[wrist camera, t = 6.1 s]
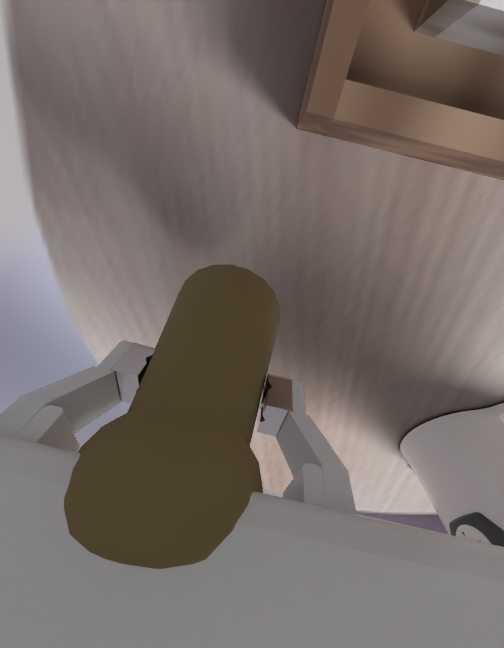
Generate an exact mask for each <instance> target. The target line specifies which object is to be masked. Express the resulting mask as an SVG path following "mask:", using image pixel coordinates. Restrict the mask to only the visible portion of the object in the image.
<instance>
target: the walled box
mask: <svg viewBox="0 0 504 648" xmlns="http://www.w3.org/2000/svg"><path fill="white" fill-rule="evenodd" d="M296 128H297V129H301V130H305V131H309V132H313V133H317V134H321V135H325V136H329V137H333V138H337V139H341V140H345V141H349V142H353V143H357V144H361V145H365V146H369V147H373V148H377V149H381V150H385V151H389V152H393V153H397V154H401V155H405V156H409V157H413V158H417V159H421V160H425V161H429V162H433V163H437V164H441V165H445V166H449V167H453V168H457V169H461V170H466V171H470V172H474V173H478V174H482V175H486V176H490V177H494V178H498V179H502V180H504V0H327V1H326V5H325V9H324V13H323V17H322V22H321V26H320V30H319V34H318V38H317V43H316V47H315V51H314V55H313V60H312V64H311V68H310V72H309V76H308V81H307V85H306V89H305V93H304V97H303V102H302V106H301V110H300V114H299V118H298V123H297V127H296Z"/></svg>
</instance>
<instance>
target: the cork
mask: <svg viewBox="0 0 504 648" xmlns="http://www.w3.org/2000/svg"><path fill="white" fill-rule="evenodd" d="M279 312H280V307H279V304H278V301H277V298H276V296H275V293H274V291H273V290H272V289H271V288H270V287H269V285H268V284H267V283H266V282H265V281H264V279H262V278H261V277H259V276H257V275H256V274H254V273H253V272H251V271H250V270H248V269H244V268H241V267H237V266H234V265H211V266H209V267H206V268H203V269H200V270H198V271H196V272H195V273H194V274H193V275H191V276H190V277H189V278H188V279H187V280H186V281H185V282H184V284H183V286H182V288H181V290H180V292H179V294H178V297H177V299H176V301H175V304H174V306H173V308H172V311H171V313H170V315H169V318H168V320H167V322H166V325H165V327H164V329H163V332H162V334H161V336H160V338H159V341H158V343H157V345H156V349H155V351H154V353H153V356H152V358H151V360H150V362H149V364H148V366H147V369H146V371H145V373H144V376H143V378H142V380H141V383H140V385H139V387H138V390H137V392H136V394H135V397H134V399H133V401H132V404H131V406H130V408H129V410H128V413H127V414H125V415H123V416H121V417H119V418H117V419H115V420H113V421H111V422H110V423H108V424H106V425H104V426H103V427H102V428H100V429H99V430H98V431H97V432H96V433H95V435H93V436H92V437H91V438H90V439H89V440H88V441H87V442H86V443H85V444H84V445H83V446H82V447H81V448H80V450H79V451H78V452H80V457H79V459H78V461H77V463H76V464H75V466H74V468H73V471H72V475H71V478H70V482H69V486H68V489H67V492H66V494H65V497H64V512H65V516H66V520H67V524H68V529H69V533H70V535H71V536H72V537H73V538H74V539H75V540H77V541H78V542H79V543H80V544H81V545H82V546H83V547H84V548H86V549H87V550H88V551H89V552H91V553H93V554H95V555H97V556H99V557H102V558H104V559H107V560H111V561H114V562H118V563H121V564H127V565H133V566H140V567H147V568H153V569H165V568H171V567H178V566H184V565H190V564H195V563H197V562H200V561H203V560H205V559H207V558H208V557H209V555H210V554H211V553H212V552H213V551H214V550H215V549H216V548H217V547H218V546H219V545H220V544H221V543H222V542H223V540H224V539H225V538H226V537H227V536H228V535H229V534H230V533H231V532H232V531H233V529H234V527H235V524H236V523H237V521H238V520H239V518H240V517H241V515H242V514H243V512H244V511H245V509H246V508H247V506H248V504H249V501H250V497H251V494H252V493H253V492H260V493H263V487H262V481H261V475H260V468H259V462H258V461H257V459H256V457H255V455H254V453H253V451H252V450H251V448H250V442H251V438H252V434H253V429H254V425H255V421H256V417H257V413H258V408H259V404H260V400H261V396H262V392H263V387H264V383H265V379H266V375H267V371H268V366H269V362H270V358H271V354H272V350H273V345H274V341H275V337H276V333H277V329H278V324H279Z"/></svg>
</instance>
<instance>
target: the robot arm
mask: <svg viewBox="0 0 504 648" xmlns="http://www.w3.org/2000/svg"><path fill="white" fill-rule="evenodd" d="M155 349H156V348H153V347H149V346H145V345H141V344H137V343H132V342H129V341H125V340H124V341H121V342H120V343H119V344H118V345H117V346H116V347H115V348H114V349H113V350H112V351H111V352H110V354H109V355H108V356H107V357H106V358H105V359H104V360H103V361H102V362H101V363H100V364H99V365H98V366H97V367H94V366H93V367H91V368H88V369H86V370H83V371H81V372H78V373H76V374H74V375H71V376H69V377H67V378H64V379H62V380H59V381H57V382H55V383H52V384H50V385H47V386H45V387H42V388H40V389H38V390H35V391H33V392H30V393H28V394H25V395H23V396H21V397H19V398H18V399H17V400H16V401H15V402H14V403H12V404H11V405H10V406H9V407H8V408H7V409H6V410H5V411H3V412H2V413H1V414H0V648H504V403H502V404H499V405H495V406H492V407H489V408H485V409H479V410H471V411H464V412H458V413H453V414H449V415H445V416H442V417H439V418H436V419H433V420H430V421H428V422H426V423H424V424H422V425H420V426H418V427H416V428H415V429H413V430H412V431H411V432H409V433H408V434H407V435H406V436H405V437H404V439H403V440H402V442H401V445H400V451H401V453H402V455H403V456H404V458H405V459H406V461H407V462H408V463H409V465H410V466H411V468H412V471H413V473H414V475H415V477H416V478H418V479H419V481H420V483H421V484H422V486H423V488H424V490H425V492H426V493H427V495H428V497H429V499H430V501H431V503H432V504H433V506H434V508H435V510H436V512H437V514H438V515H439V517H440V519H441V521H442V523H443V525H444V526H445V528H446V530H447V532H448V534H449V535H448V534H443V533H439V532H434V531H430V530H425V529H421V528H416V527H412V526H407V525H403V524H399V523H394V522H390V521H385V520H381V519H376V518H372V517H367V516H363V515H358V514H356V509H355V504H354V499H353V494H352V489H351V484H350V479H349V474H348V471H347V469H346V468H345V466H344V465H343V463H342V462H341V460H340V459H339V458H338V456H337V455H336V453H335V452H334V450H333V449H332V447H331V446H330V445H329V443H328V442H327V440H326V439H325V437H324V436H323V434H322V433H321V432H320V430H319V429H318V427H317V426H316V424H315V423H314V421H313V420H312V419H311V417H310V416H308V415H306V407H305V395H304V384H303V382H302V381H297V380H293V379H288V378H284V377H279V376H275V375H270V374H268V376H267V378H266V384H265V386H264V387H263V392H262V396H261V400H260V405H259V408H260V413H259V416H258V423H257V432H261V433H265V434H268V435H272V436H276V439H277V441H278V443H279V445H280V448H281V450H282V452H283V454H284V457H285V459H286V461H287V463H288V466H289V468H290V470H291V472H292V475H293V477H294V479H293V480H292V481H291V483H290V484H289V486H288V487H287V488H286V490H285V491H284V492H283V498H282V497H277V496H272V495H269V494H264V493H260V492H253V493H252V494H251V497H250V501H249V504H248V506H247V508H246V509H245V511H244V512H243V514H242V515H241V517H240V518H239V520H238V521H237V523H236V524H235V527H234V529H233V531H232V532H231V533H230V534H229V535H228V536H227V537H226V538H225V539H224V540H223V542H222V543H221V544H220V545H219V546H218V547H217V548H216V549H215V550H214V551H213V552H212V553H211V554H210V555H209V557H208V558H207V559H205V560H203V561H200V562H197V563H195V564H190V565H184V566H178V567H171V568H165V569H153V568H147V567H140V566H133V565H127V564H121V563H118V562H114V561H111V560H107V559H104V558H102V557H99V556H97V555H95V554H93V553H91V552H89V551H88V550H87V549H86V548H84V547H83V546H82V545H81V544H80V543H79V542H78V541H77V540H75V539H74V538H73V537H72V536H71V535H70V533H69V529H68V524H67V520H66V516H65V512H64V497H65V494H66V492H67V489H68V486H69V482H70V478H71V475H72V471H73V468H74V466H75V464H76V463H77V461H78V459H79V457H80V452H77V451H78V449H79V448H80V446H79V442H78V440H77V438H76V436H75V434H74V433H76V432H77V431H79V430H80V429H82V428H83V427H85V426H86V425H88V424H89V423H91V422H92V421H94V420H95V419H97V418H98V417H100V416H101V415H103V414H104V413H106V412H107V411H109V410H110V409H112V408H113V407H115V406H116V405H118V404H119V403H120V402H121V401H122V402H127V403H132V401H133V399H134V397H135V394H136V392H137V390H138V387H139V385H140V383H141V380H142V378H143V376H144V373H145V371H146V369H147V366H148V364H149V362H150V360H151V358H152V356H153V353H154V351H155Z"/></svg>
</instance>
